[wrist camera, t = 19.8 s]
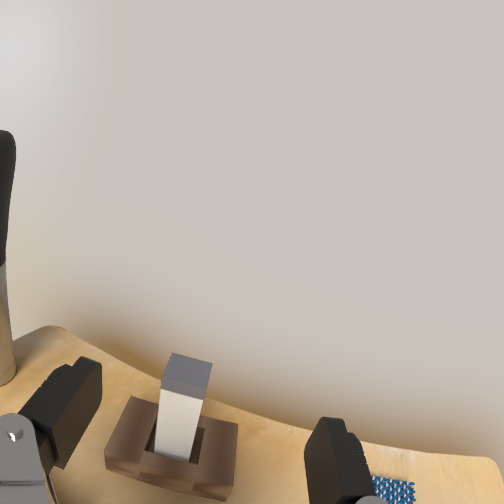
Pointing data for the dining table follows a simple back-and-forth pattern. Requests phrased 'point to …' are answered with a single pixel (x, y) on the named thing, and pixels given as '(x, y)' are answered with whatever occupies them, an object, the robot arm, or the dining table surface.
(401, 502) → the woven mat
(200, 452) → the brown square socket block
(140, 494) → the dining table surface
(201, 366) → the grey-capped white post
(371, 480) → the robot arm
